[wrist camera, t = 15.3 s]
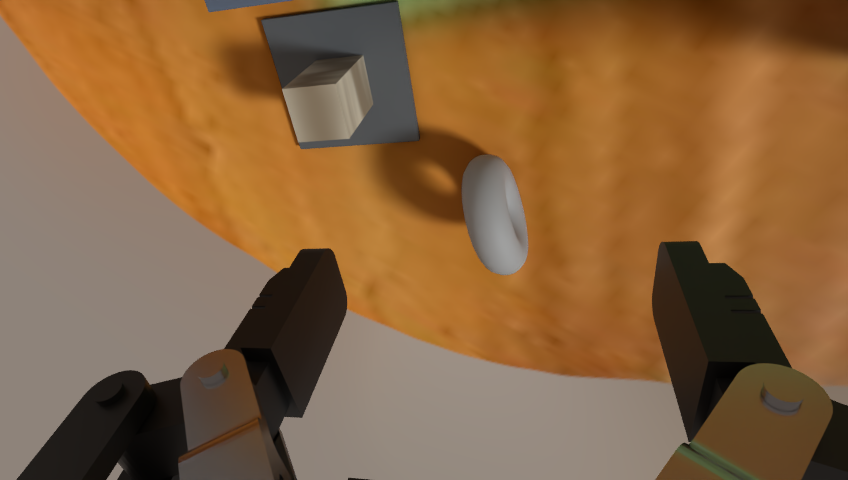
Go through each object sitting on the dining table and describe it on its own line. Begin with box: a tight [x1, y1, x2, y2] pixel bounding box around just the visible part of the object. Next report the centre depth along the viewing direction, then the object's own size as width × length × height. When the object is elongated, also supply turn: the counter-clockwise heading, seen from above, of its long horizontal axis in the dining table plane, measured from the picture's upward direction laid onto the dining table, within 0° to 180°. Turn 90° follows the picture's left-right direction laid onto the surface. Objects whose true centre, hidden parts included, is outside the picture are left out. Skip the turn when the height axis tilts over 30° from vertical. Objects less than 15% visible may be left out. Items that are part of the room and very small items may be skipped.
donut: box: [462, 155, 528, 275], centre depth 41 cm, size 10×4×10 cm, turn 22°
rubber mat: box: [261, 1, 420, 149], centre depth 42 cm, size 11×11×1 cm
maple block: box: [282, 55, 373, 142], centre depth 38 cm, size 4×4×7 cm
